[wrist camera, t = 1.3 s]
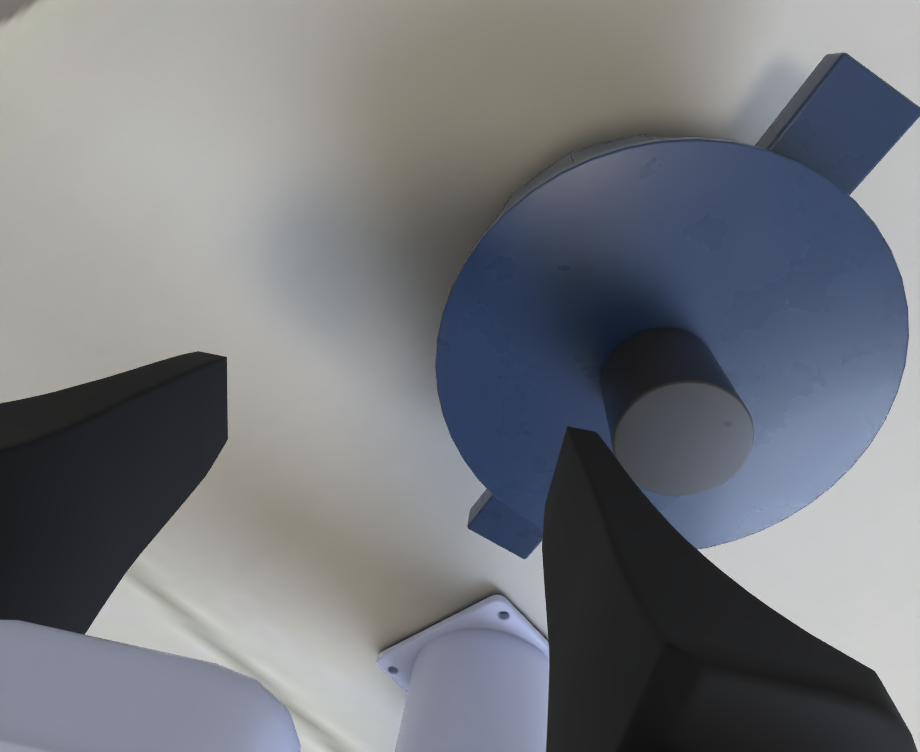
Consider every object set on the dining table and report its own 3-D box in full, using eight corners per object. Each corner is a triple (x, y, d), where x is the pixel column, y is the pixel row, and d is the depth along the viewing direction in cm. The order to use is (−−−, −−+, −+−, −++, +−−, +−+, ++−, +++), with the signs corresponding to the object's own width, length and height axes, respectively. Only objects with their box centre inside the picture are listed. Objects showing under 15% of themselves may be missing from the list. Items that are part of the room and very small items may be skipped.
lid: (996, 302, 15) (1144, 373, 12) (682, 586, 20) (714, 699, 17) (604, 29, 14) (629, 9, 10) (371, 411, 19) (330, 493, 15)
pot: (947, 184, 19) (1090, 220, 14) (615, 530, 26) (632, 634, 21) (649, -32, 17) (693, -75, 12) (385, 399, 24) (346, 478, 19)
